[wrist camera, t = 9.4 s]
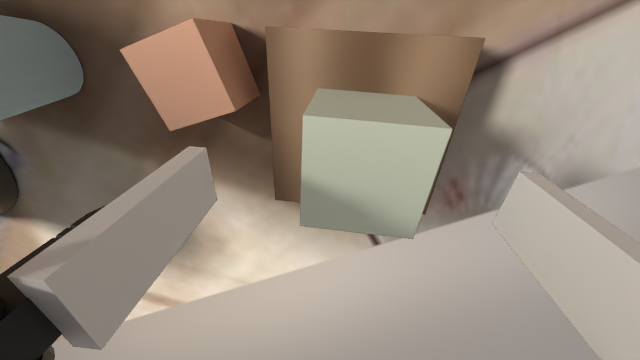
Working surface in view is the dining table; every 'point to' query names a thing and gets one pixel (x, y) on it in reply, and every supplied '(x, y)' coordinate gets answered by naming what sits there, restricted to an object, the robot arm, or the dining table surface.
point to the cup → (34, 66)
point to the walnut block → (358, 81)
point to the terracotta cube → (193, 71)
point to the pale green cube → (368, 161)
